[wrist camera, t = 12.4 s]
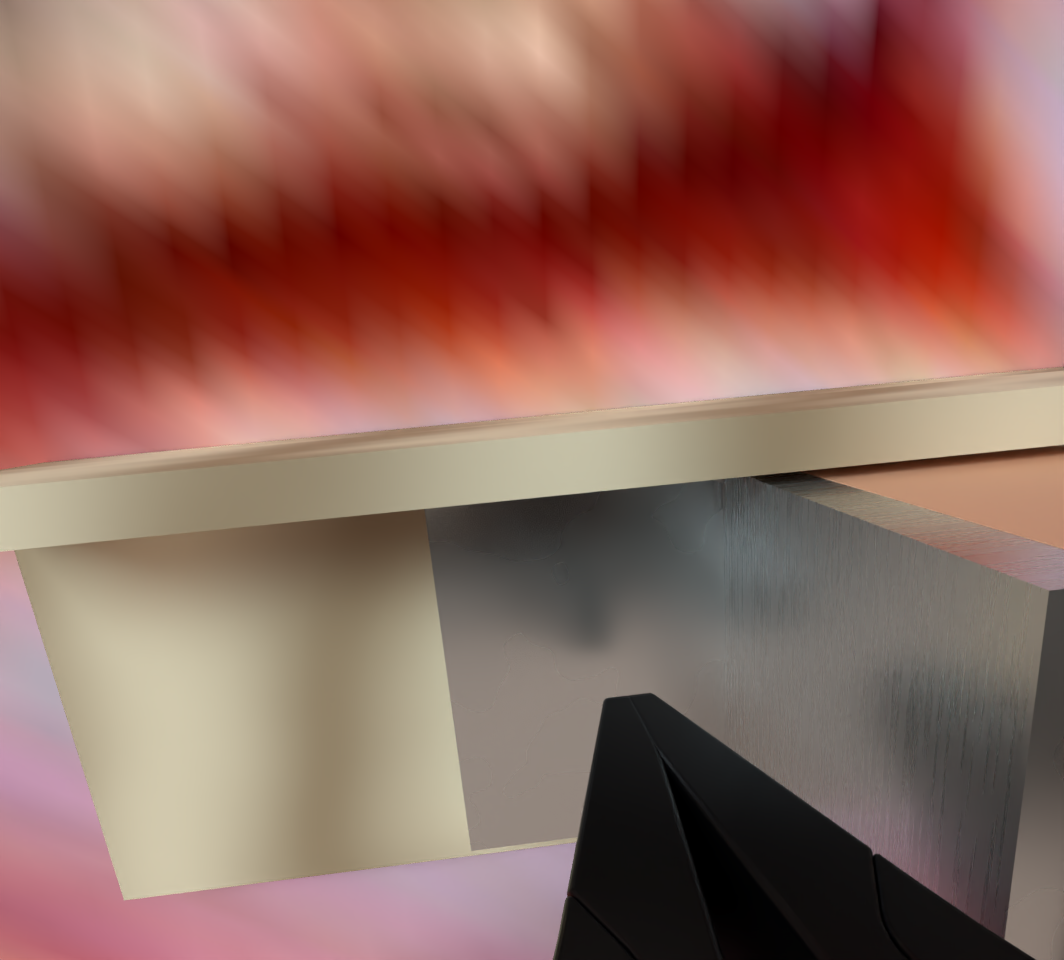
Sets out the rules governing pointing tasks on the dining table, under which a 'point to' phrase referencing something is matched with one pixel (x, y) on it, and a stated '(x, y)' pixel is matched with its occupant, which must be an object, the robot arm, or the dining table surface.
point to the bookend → (774, 668)
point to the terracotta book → (975, 488)
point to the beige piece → (361, 605)
